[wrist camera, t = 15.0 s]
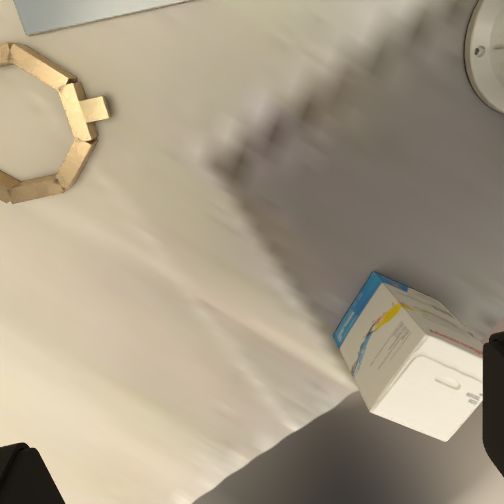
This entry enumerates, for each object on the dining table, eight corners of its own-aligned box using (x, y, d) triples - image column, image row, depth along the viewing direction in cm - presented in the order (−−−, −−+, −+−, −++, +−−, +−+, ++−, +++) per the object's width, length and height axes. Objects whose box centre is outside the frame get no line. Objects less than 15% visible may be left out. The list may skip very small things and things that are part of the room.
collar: (88, 29, 35) (80, 26, 32) (132, 171, 39) (127, 178, 37) (-104, 70, 34) (-126, 71, 32) (-38, 209, 39) (-53, 218, 36)
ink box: (329, 336, 47) (367, 415, 37) (373, 269, 45) (427, 333, 34) (396, 363, 50) (449, 446, 39) (441, 301, 47) (511, 370, 36)
